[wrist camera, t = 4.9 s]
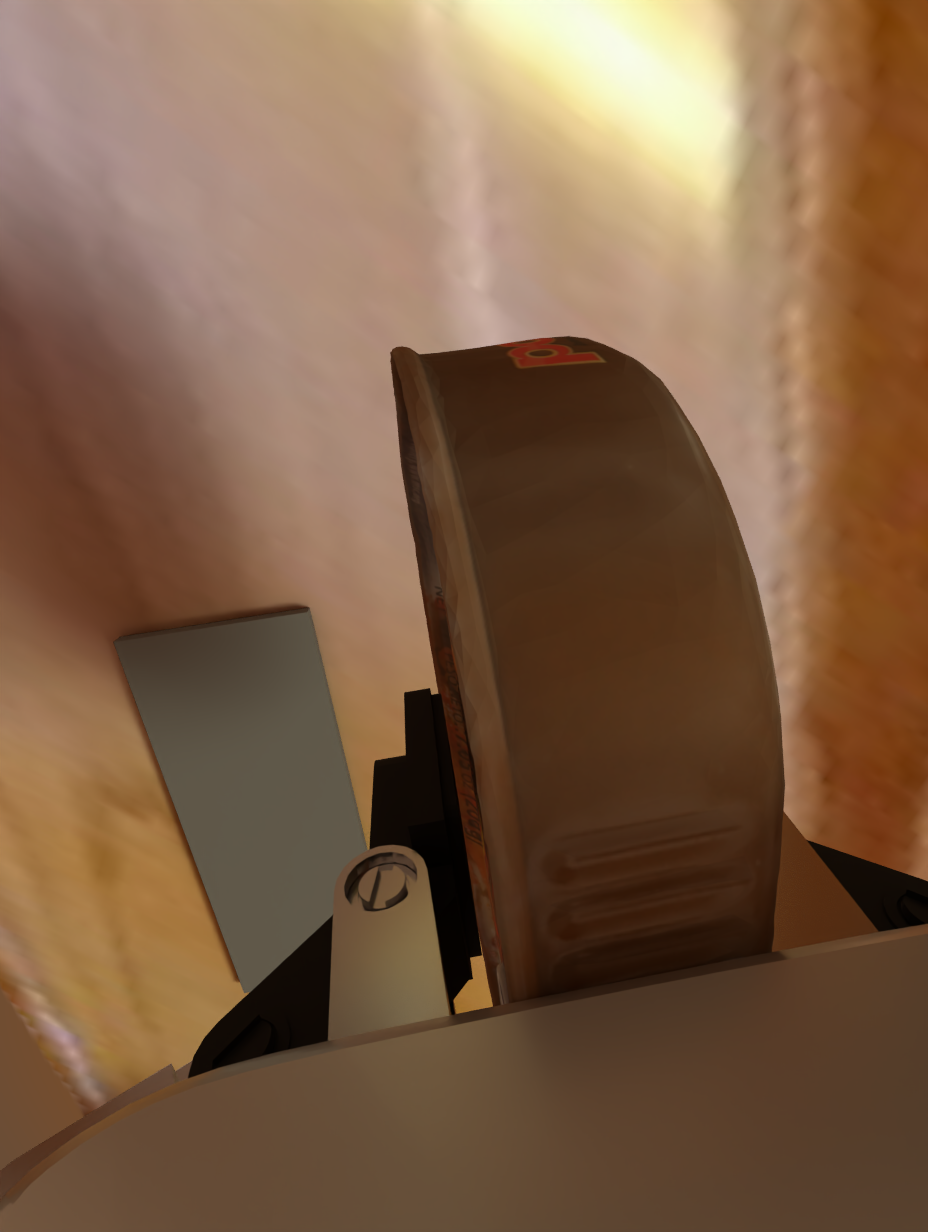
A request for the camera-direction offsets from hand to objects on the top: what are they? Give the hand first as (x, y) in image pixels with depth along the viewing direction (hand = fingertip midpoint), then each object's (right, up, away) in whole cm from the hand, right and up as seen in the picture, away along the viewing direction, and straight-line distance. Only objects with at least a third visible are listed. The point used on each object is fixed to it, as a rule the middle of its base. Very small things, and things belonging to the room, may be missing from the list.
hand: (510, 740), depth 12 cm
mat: (-9, -6, +13) cm, 17 cm away
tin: (0, +1, +1) cm, 1 cm away
